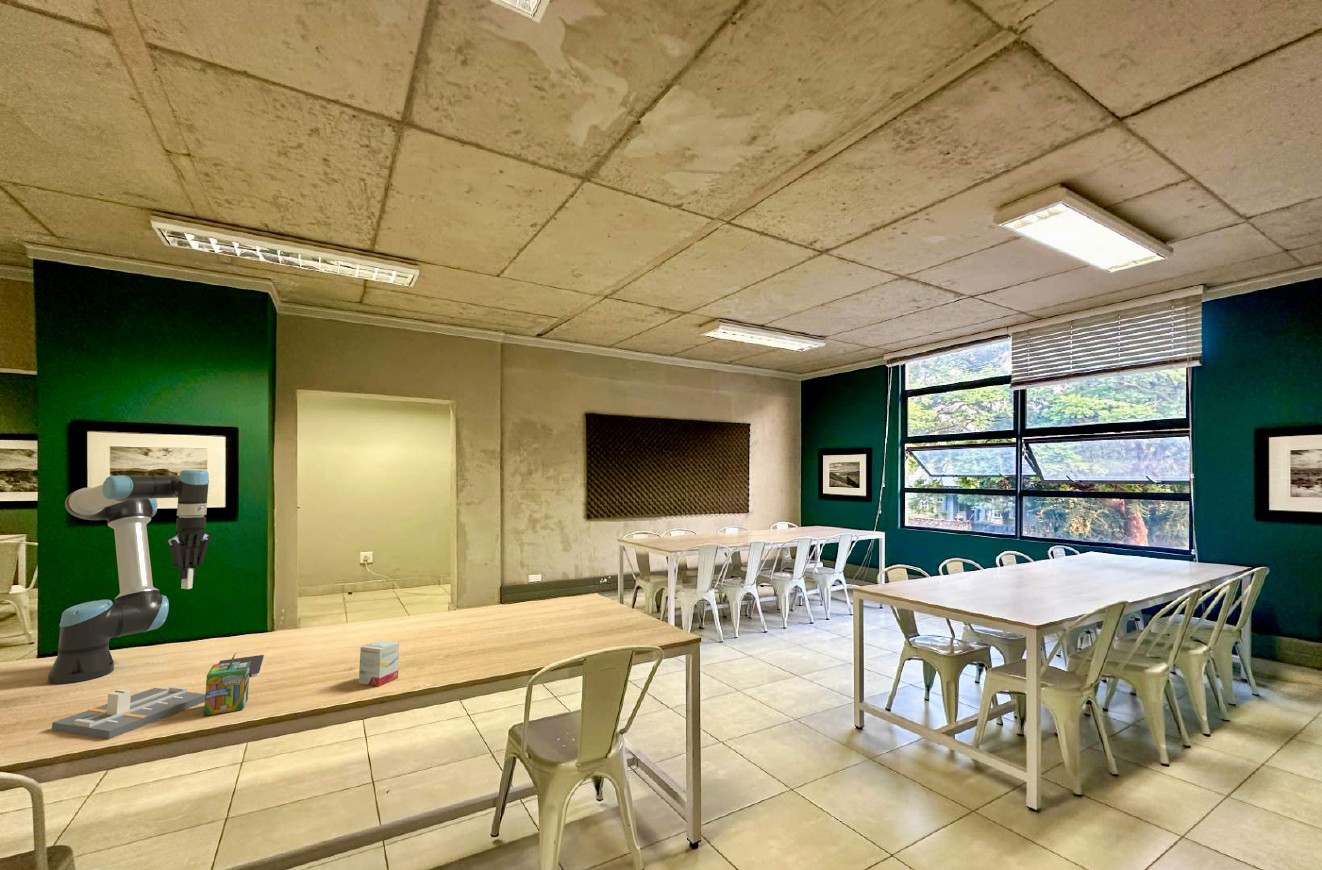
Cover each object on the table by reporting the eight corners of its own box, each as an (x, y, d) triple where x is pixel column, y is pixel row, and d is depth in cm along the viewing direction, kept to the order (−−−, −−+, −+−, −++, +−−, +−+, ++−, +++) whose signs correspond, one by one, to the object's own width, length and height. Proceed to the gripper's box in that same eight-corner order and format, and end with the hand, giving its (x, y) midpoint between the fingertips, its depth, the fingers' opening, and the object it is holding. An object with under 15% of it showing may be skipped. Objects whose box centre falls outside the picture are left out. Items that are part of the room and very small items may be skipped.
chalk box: (209, 705, 160) (213, 653, 161) (248, 699, 165) (251, 648, 166) (202, 717, 152) (205, 662, 153) (243, 710, 157) (246, 657, 158)
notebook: (219, 665, 194) (210, 685, 176) (220, 660, 194) (210, 680, 176) (263, 658, 201) (258, 677, 183) (264, 654, 201) (259, 672, 183)
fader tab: (106, 714, 148) (108, 693, 149) (119, 709, 151) (121, 688, 152) (116, 716, 148) (118, 694, 148) (129, 711, 151) (131, 690, 151)
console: (51, 730, 144) (52, 717, 144) (154, 694, 167) (155, 683, 167) (109, 739, 139) (110, 726, 139) (206, 701, 163) (206, 690, 163)
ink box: (399, 677, 183) (400, 641, 183) (378, 687, 175) (379, 649, 175) (379, 674, 185) (380, 638, 186) (357, 683, 177) (359, 646, 178)
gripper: (179, 518, 175) (174, 593, 174) (220, 515, 188) (215, 585, 186) (161, 517, 177) (155, 591, 175) (203, 514, 190) (198, 584, 188)
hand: (186, 588), depth 181 cm, fingers closed
